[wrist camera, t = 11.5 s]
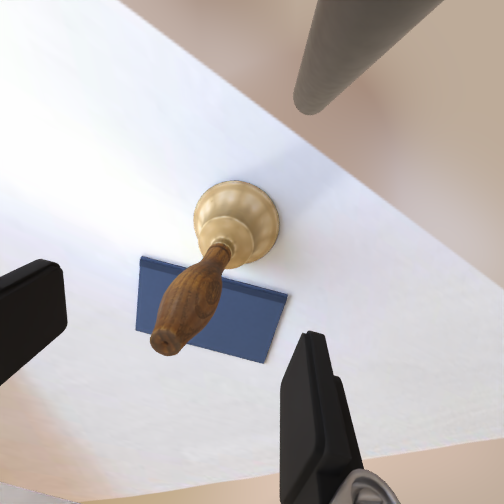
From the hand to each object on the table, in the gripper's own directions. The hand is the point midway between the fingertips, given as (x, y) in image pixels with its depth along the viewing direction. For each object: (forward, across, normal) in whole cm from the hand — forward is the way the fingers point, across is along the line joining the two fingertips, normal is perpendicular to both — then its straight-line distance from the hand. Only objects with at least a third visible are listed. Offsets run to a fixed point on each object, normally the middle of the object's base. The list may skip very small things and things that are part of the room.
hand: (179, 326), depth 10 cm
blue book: (+15, +1, +12) cm, 19 cm away
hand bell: (+16, 0, +1) cm, 16 cm away
